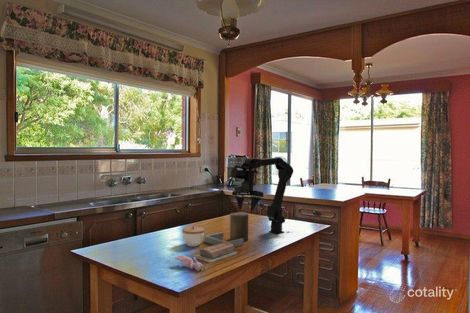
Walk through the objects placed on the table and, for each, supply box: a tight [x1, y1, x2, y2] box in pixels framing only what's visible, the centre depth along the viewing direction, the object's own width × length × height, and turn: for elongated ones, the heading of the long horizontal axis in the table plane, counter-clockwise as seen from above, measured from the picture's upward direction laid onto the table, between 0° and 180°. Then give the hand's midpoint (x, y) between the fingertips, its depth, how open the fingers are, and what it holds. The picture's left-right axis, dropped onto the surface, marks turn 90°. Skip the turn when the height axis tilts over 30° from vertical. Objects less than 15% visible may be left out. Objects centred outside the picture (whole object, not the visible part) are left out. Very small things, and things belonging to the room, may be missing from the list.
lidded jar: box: [181, 225, 205, 247], centre depth 170 cm, size 11×11×9 cm
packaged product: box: [194, 241, 239, 264], centre depth 153 cm, size 18×5×10 cm
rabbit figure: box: [174, 254, 208, 272], centre depth 138 cm, size 6×6×15 cm
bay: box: [203, 232, 245, 248], centre depth 173 cm, size 12×17×3 cm
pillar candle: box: [229, 210, 249, 242], centre depth 180 cm, size 10×10×15 cm
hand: (245, 210), depth 181 cm, fingers open, 9 cm apart
